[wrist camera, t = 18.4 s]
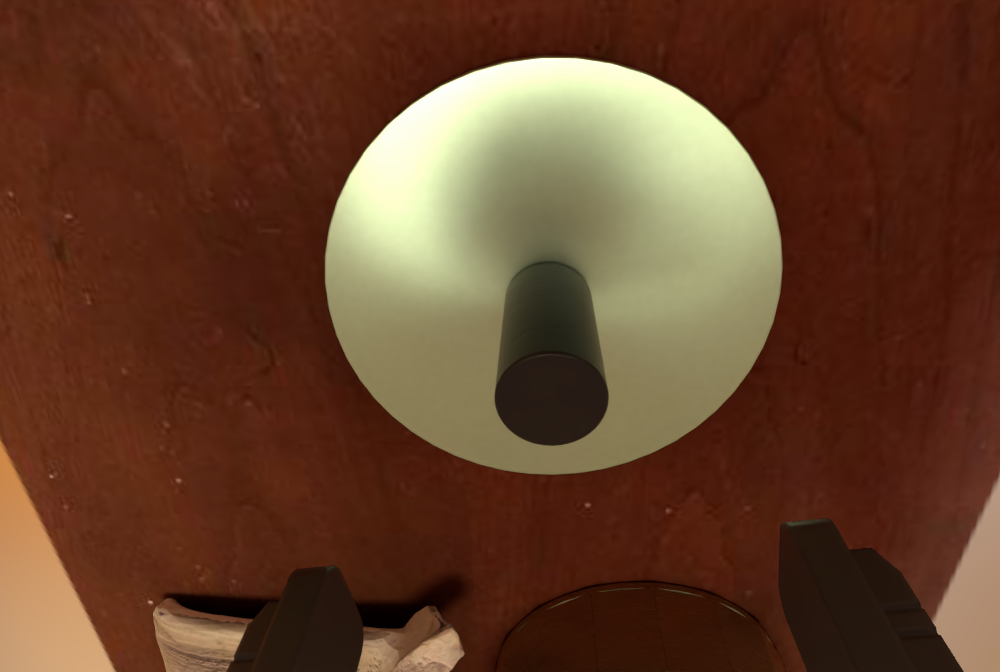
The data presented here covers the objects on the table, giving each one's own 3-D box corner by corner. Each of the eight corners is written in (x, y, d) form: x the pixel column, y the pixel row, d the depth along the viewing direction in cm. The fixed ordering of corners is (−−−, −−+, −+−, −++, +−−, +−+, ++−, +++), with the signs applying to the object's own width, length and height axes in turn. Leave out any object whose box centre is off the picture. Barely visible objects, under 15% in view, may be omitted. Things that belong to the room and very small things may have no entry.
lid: (775, 1, 18) (902, 6, 12) (770, 433, 25) (846, 578, 19) (268, 107, 20) (147, 159, 14) (398, 477, 27) (357, 619, 21)
